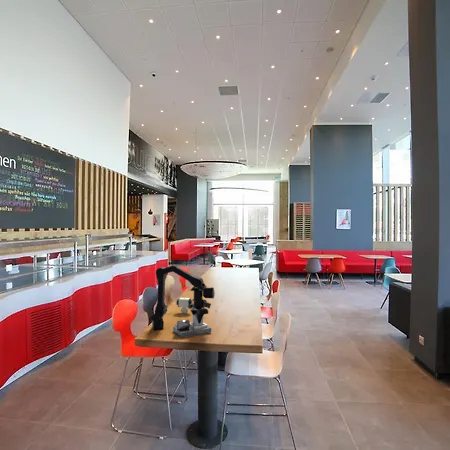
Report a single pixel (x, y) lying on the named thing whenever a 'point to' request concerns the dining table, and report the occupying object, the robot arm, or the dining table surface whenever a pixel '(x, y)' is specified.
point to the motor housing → (190, 329)
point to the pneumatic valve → (184, 304)
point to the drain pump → (195, 321)
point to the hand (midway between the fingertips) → (197, 322)
